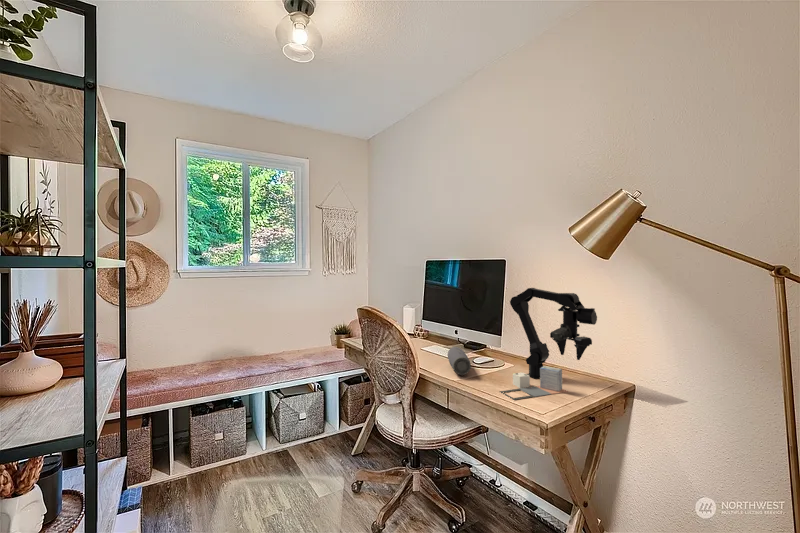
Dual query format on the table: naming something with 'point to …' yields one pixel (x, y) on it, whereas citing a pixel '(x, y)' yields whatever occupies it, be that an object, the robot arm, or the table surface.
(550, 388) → the medicine box
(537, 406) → the table surface
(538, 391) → the game mat
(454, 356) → the bluetooth speaker
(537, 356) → the robot arm
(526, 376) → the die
